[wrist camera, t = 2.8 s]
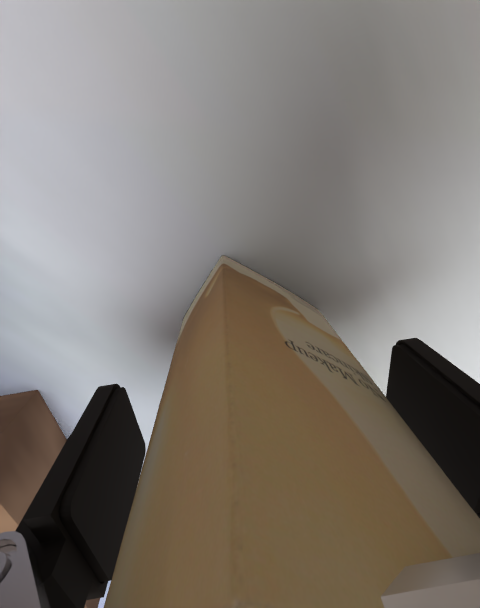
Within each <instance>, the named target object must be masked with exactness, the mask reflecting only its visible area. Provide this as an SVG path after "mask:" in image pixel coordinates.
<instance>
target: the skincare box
mask: <svg viewBox="0 0 480 608" xmlns="http://www.w3.org/2000/svg"><path fill="white" fill-rule="evenodd" d="M476 553H480V518H479V517H478V516H477V514H476V513H475V512H474V511H473V509H472V508H471V507H470V506H469V504H468V503H467V502H466V500H465V499H464V498H463V497H462V495H461V494H460V493H459V491H458V490H457V489H456V488H455V486H454V485H453V484H452V482H451V481H450V480H449V478H448V477H447V476H446V475H445V473H444V472H443V471H442V469H441V468H440V467H439V465H438V464H437V463H436V461H435V460H434V459H433V458H432V456H431V455H430V454H429V452H428V451H427V450H426V448H425V447H424V446H423V445H422V443H421V442H420V441H419V439H418V438H417V437H416V436H415V434H414V433H413V432H412V430H411V429H410V428H409V427H408V425H407V424H406V423H405V421H404V420H403V419H402V418H401V416H400V415H399V414H398V412H397V411H396V410H395V409H394V407H393V406H392V405H391V403H390V402H389V401H388V399H387V398H386V397H385V395H384V394H383V393H382V392H381V390H380V389H379V388H378V386H377V385H376V384H375V383H374V381H373V380H372V379H371V377H370V376H369V375H368V373H367V372H366V371H365V370H364V368H363V367H362V366H361V364H360V363H359V362H358V361H357V359H356V358H355V357H354V356H353V354H352V353H351V352H350V350H349V349H348V348H347V346H346V345H345V344H344V343H343V341H342V340H341V339H340V337H339V336H338V335H337V333H336V332H335V331H334V329H333V328H332V327H331V325H330V324H329V323H328V322H327V320H326V319H325V318H324V316H323V315H322V314H321V312H320V311H319V310H318V309H316V308H315V307H313V306H312V305H310V304H309V303H307V302H306V301H304V300H302V299H301V298H299V297H298V296H296V295H294V294H293V293H291V292H289V291H288V290H286V289H284V288H283V287H281V286H279V285H278V284H276V283H274V282H273V281H271V280H269V279H267V278H265V277H264V276H262V275H260V274H258V273H256V272H254V271H252V270H251V269H249V268H247V267H245V266H243V265H241V264H239V263H238V262H236V261H234V260H232V259H230V258H228V257H226V256H221V257H220V259H219V261H218V262H217V264H216V265H215V267H214V268H213V270H212V271H211V273H210V275H209V276H208V278H207V280H206V281H205V283H204V284H203V286H202V287H201V289H200V291H199V292H198V294H197V296H196V297H195V299H194V301H193V303H192V304H191V306H190V308H189V309H188V311H187V313H186V315H185V316H184V318H183V322H182V326H181V329H180V333H179V336H178V340H177V343H176V346H175V350H174V354H173V358H172V362H171V365H170V369H169V373H168V376H167V380H166V384H165V387H164V391H163V395H162V398H161V401H160V405H159V409H158V413H157V416H156V420H155V424H154V427H153V431H152V435H151V438H150V442H149V446H148V449H147V453H146V457H145V460H144V464H143V467H142V471H141V475H140V478H139V482H138V486H137V489H136V493H135V496H134V500H133V504H132V507H131V511H130V514H129V518H128V522H127V525H126V529H125V532H124V536H123V540H122V543H121V547H120V551H119V555H118V558H117V562H116V566H115V569H114V573H113V577H112V581H111V584H110V587H109V591H108V594H107V597H106V601H105V605H104V608H384V605H383V602H382V600H381V596H382V594H383V593H384V592H385V591H386V589H387V588H388V587H389V586H390V584H391V583H392V582H393V581H394V579H395V578H396V577H397V576H398V575H399V573H400V572H401V571H402V570H403V569H404V567H405V566H410V565H416V564H421V563H427V562H432V561H438V560H443V559H449V558H454V557H460V556H465V555H471V554H476Z"/></svg>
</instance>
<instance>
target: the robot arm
mask: <svg viewBox="0 0 480 608" xmlns="http://www.w3.org/2000/svg"><path fill="white" fill-rule="evenodd" d="M386 398H387V399H388V401H389V402H390V403H391V405H392V406H393V407H394V409H395V410H396V411H397V412H398V414H399V415H400V416H401V418H402V419H403V420H404V421H405V423H406V424H407V425H408V427H409V428H410V429H411V430H412V432H413V433H414V434H415V436H416V437H417V438H418V439H419V441H420V442H421V443H422V445H423V446H424V447H425V448H426V450H427V451H428V452H429V454H430V455H431V456H432V458H433V459H434V460H435V461H436V463H437V464H438V465H439V467H440V468H441V469H442V471H443V472H444V473H445V475H446V476H447V477H448V478H449V480H450V481H451V482H452V484H453V485H454V486H455V488H456V489H457V490H458V491H459V493H460V494H461V495H462V497H463V498H464V499H465V500H466V502H467V503H468V504H469V506H470V507H471V508H472V509H473V511H474V512H475V513H476V514H477V516H478V517H479V518H480V384H479V383H478V382H476V381H475V380H474V379H472V378H471V377H470V376H468V375H467V374H465V373H464V372H463V371H461V370H460V369H459V368H457V367H456V366H455V365H453V364H452V363H451V362H449V361H448V360H447V359H445V358H444V357H442V356H441V355H440V354H438V353H437V352H436V351H434V350H433V349H432V348H430V347H429V346H428V345H426V344H425V343H424V342H422V341H421V340H419V339H417V338H411V339H405V340H399V341H398V342H397V343H396V345H394V346H393V348H392V354H391V362H390V370H389V378H388V386H387V394H386ZM144 457H145V442H144V439H143V437H142V434H141V431H140V428H139V425H138V423H137V420H136V417H135V414H134V412H133V409H132V406H131V403H130V400H129V398H128V395H127V392H126V390H125V388H124V387H122V388H120V386H119V385H118V384H112V385H106V386H100V387H98V388H97V390H96V391H95V393H94V395H93V397H92V399H91V400H90V402H89V404H88V406H87V407H86V409H85V411H84V413H83V415H82V416H81V418H80V420H79V422H78V423H77V425H76V427H75V429H74V430H73V432H72V434H71V435H70V436H69V438H68V439H67V441H66V443H65V444H64V446H63V448H62V450H61V451H60V453H59V455H58V457H57V458H56V460H55V462H54V464H53V465H52V467H51V469H50V471H49V473H48V474H47V476H46V478H45V480H44V481H43V483H42V485H41V487H40V488H39V490H38V492H37V494H36V495H35V497H34V499H33V501H32V502H31V504H30V506H29V508H28V509H27V511H26V513H25V515H24V517H23V518H22V520H21V522H20V524H19V525H18V527H17V529H16V531H8V532H3V533H0V608H84V607H85V603H86V600H91V599H96V598H101V597H104V594H105V591H106V587H107V583H108V581H110V580H112V577H113V573H114V569H115V566H116V562H117V558H118V555H119V551H120V547H121V543H122V540H123V536H124V532H125V529H126V525H127V522H128V518H129V514H130V511H131V507H132V504H133V500H134V496H135V493H136V489H137V485H138V481H139V477H140V473H141V469H142V465H143V461H144ZM381 600H382V602H383V605H384V608H480V553H476V554H471V555H465V556H460V557H454V558H449V559H443V560H438V561H432V562H427V563H421V564H416V565H410V566H405V567H404V569H403V570H402V571H401V572H400V573H399V575H398V576H397V577H396V578H395V579H394V581H393V582H392V583H391V584H390V586H389V587H388V588H387V589H386V591H385V592H384V593H383V594H382V596H381Z"/></svg>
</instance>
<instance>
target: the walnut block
mask: <svg viewBox="0 0 480 608" xmlns="http://www.w3.org/2000/svg"><path fill="white" fill-rule="evenodd" d="M66 441H67V439H66V437H65V436H64V434H63V432H62V431H61V429H60V427H59V425H58V424H57V422H56V420H55V418H54V417H53V415H52V413H51V412H50V410H49V408H48V406H47V405H46V403H45V401H44V399H43V398H42V396H41V394H40V392H39V391H38V390H34V391H28V392H22V393H16V394H10V395H4V396H0V533H3V532H8V531H16V529H17V527H18V525H19V524H20V522H21V520H22V518H23V517H24V515H25V513H26V511H27V509H28V508H29V506H30V504H31V502H32V501H33V499H34V497H35V495H36V494H37V492H38V490H39V488H40V487H41V485H42V483H43V481H44V480H45V478H46V476H47V474H48V473H49V471H50V469H51V467H52V465H53V464H54V462H55V460H56V458H57V457H58V455H59V453H60V451H61V450H62V448H63V446H64V444H65V443H66ZM99 600H100V598H96V599H91V600H86V603H85V607H84V608H98V604H99Z"/></svg>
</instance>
